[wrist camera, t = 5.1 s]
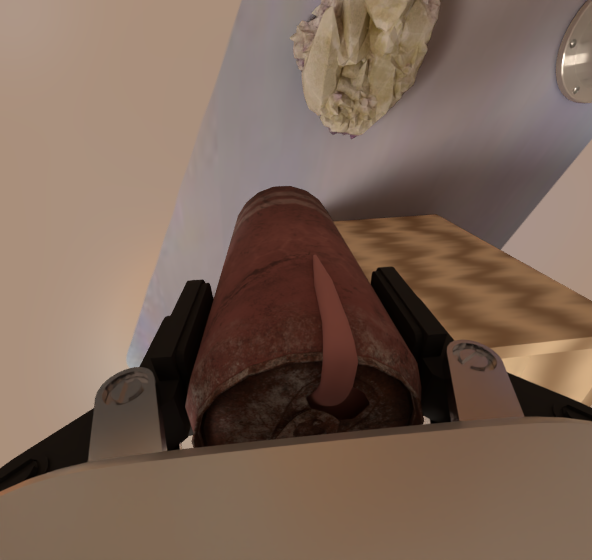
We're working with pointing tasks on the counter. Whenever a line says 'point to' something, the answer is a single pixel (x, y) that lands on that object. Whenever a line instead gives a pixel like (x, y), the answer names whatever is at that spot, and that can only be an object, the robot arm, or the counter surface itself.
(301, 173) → the counter surface
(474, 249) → the zigzag grain wooden box
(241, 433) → the can
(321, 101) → the geode
